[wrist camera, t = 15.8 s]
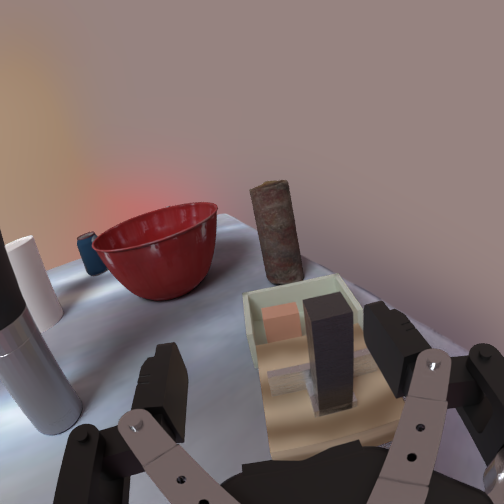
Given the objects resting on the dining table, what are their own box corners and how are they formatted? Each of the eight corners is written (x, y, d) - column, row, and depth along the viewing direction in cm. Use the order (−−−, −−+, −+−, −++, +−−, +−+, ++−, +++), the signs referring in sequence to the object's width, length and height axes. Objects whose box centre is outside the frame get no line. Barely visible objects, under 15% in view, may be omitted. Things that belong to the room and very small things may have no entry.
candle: (279, 293, 61) (260, 188, 53) (260, 280, 67) (241, 185, 60) (311, 278, 64) (297, 178, 56) (290, 268, 70) (275, 176, 62)
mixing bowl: (91, 312, 67) (67, 250, 61) (161, 258, 90) (146, 207, 85) (190, 329, 55) (164, 247, 49) (251, 258, 79) (239, 196, 73)
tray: (363, 343, 43) (363, 309, 41) (254, 368, 43) (246, 334, 41) (339, 304, 53) (337, 273, 51) (249, 323, 53) (242, 293, 51)
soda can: (112, 267, 91) (100, 230, 87) (96, 278, 86) (82, 239, 81) (99, 266, 95) (87, 231, 90) (84, 276, 89) (71, 240, 84)
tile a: (299, 312, 43) (295, 301, 46) (262, 319, 44) (261, 308, 46) (302, 341, 45) (299, 329, 48) (268, 347, 45) (266, 335, 48)
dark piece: (391, 396, 29) (401, 298, 24) (276, 425, 29) (255, 333, 24) (374, 365, 33) (376, 272, 29) (270, 390, 33) (250, 299, 29)
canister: (11, 333, 62) (-23, 261, 54) (42, 306, 74) (15, 239, 66) (39, 339, 58) (1, 257, 51) (72, 308, 70) (43, 232, 63)
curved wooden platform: (405, 436, 27) (411, 414, 26) (275, 471, 27) (270, 452, 26) (357, 345, 43) (357, 322, 41) (260, 367, 43) (255, 345, 41)
